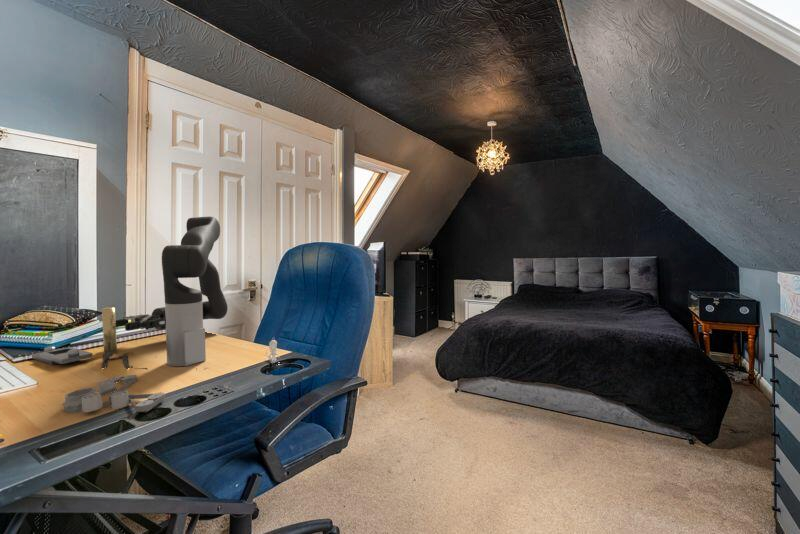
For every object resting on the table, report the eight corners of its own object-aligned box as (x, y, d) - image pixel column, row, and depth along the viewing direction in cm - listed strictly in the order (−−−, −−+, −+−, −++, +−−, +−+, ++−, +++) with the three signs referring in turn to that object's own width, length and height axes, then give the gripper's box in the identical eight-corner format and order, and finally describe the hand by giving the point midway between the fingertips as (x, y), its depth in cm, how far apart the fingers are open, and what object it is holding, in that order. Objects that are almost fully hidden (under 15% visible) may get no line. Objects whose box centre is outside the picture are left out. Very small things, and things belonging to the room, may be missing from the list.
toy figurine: (268, 367, 102) (267, 340, 102) (257, 361, 108) (256, 335, 108) (286, 363, 106) (286, 337, 105) (274, 357, 112) (274, 333, 111)
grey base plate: (92, 361, 107) (92, 348, 106) (61, 368, 100) (60, 354, 100) (61, 352, 115) (61, 340, 115) (31, 358, 109) (30, 345, 109)
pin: (119, 352, 115) (117, 307, 114) (107, 355, 112) (105, 309, 111) (113, 351, 117) (111, 306, 116) (101, 353, 114) (99, 308, 113)
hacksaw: (103, 357, 112) (103, 352, 112) (144, 351, 118) (144, 346, 118) (98, 381, 93) (98, 375, 93) (148, 372, 99) (148, 367, 99)
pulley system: (78, 439, 66) (172, 406, 78) (74, 414, 66) (169, 384, 77) (54, 402, 84) (133, 380, 95) (51, 382, 84) (131, 362, 95)
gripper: (158, 304, 134) (106, 311, 119) (183, 308, 127) (130, 316, 113) (159, 325, 134) (107, 335, 120) (183, 329, 127) (131, 340, 113)
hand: (118, 325), depth 116 cm, fingers open, 8 cm apart
